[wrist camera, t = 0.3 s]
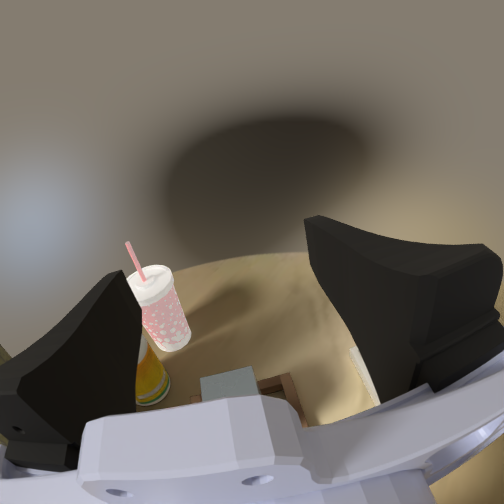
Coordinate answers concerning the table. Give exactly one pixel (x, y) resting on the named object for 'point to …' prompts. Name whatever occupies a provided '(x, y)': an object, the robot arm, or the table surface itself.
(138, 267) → the beverage cup
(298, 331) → the table surface
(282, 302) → the table surface
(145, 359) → the supplement bottle
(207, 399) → the brushed metal block
